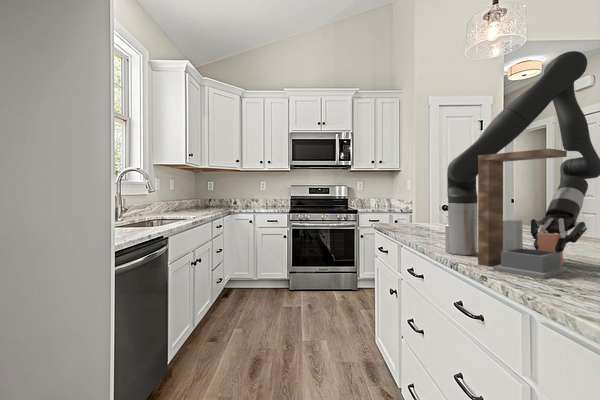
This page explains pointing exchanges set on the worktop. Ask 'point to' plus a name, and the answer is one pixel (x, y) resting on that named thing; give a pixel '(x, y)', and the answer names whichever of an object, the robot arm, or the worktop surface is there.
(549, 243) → the peg
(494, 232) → the wooden l-shaped bracket
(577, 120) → the robot arm
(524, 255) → the socket
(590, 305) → the worktop surface
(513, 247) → the skincare box
